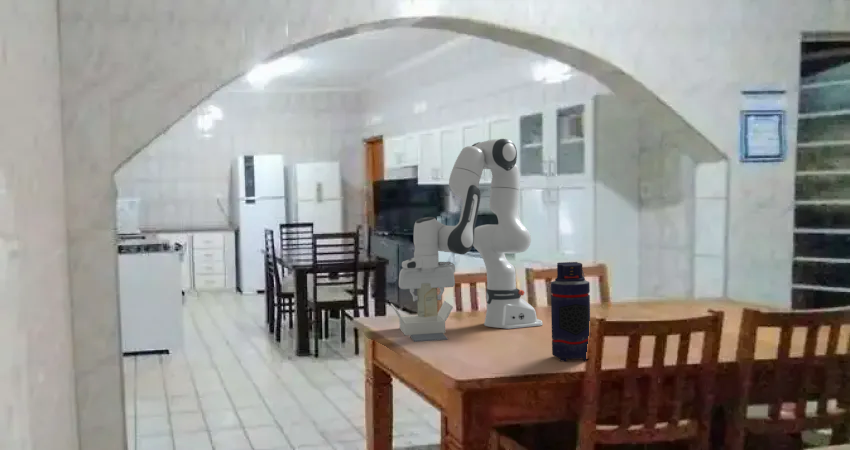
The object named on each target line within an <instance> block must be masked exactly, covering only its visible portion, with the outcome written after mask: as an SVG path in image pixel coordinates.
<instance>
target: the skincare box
mask: <svg viewBox="0 0 850 450" xmlns="http://www.w3.org/2000/svg"><path fill="white" fill-rule="evenodd" d="M437 295H438V288H431V284H430V283H426V284H421V288H420V289H416V296H418V301H416V303H417V316H419V317H432V316H437V315H438V300H437Z"/></svg>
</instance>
